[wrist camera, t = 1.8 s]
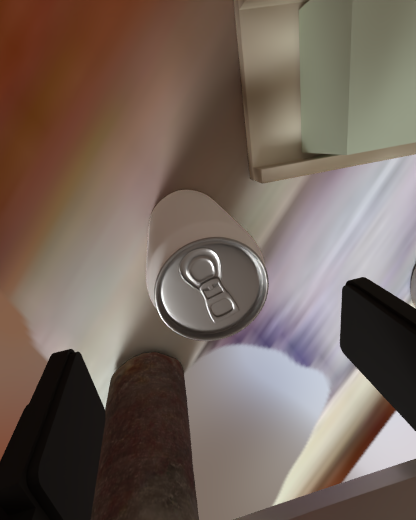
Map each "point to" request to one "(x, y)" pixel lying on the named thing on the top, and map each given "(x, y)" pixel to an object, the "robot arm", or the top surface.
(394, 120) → the sliding block
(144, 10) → the top surface
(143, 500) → the brown textured cylinder
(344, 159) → the channel
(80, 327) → the top surface
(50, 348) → the top surface
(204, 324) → the can
